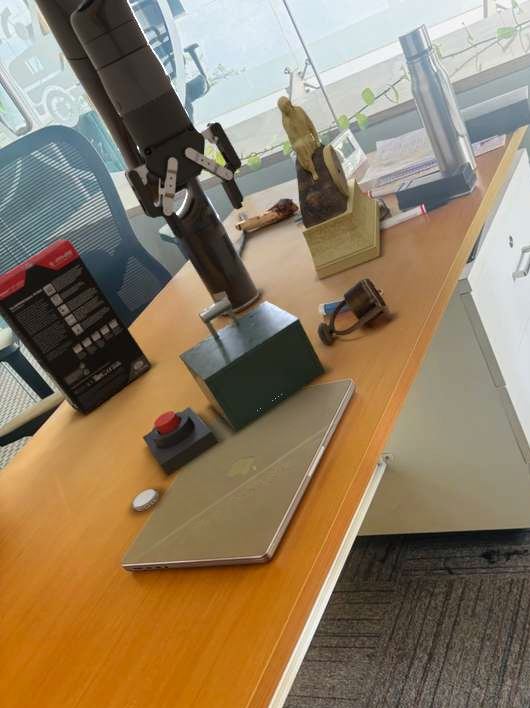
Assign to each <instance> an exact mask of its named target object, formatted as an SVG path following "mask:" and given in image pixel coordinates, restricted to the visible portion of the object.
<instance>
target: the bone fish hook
mask: <svg viewBox="0 0 530 708" xmlns="http://www.w3.org/2000/svg"><path fill="white" fill-rule="evenodd" d="M298 211H300V206H299V205H298V204H297V203H295V202H294V201H293V198H280V199H279V200H278V201H277V202H276V203H274V204H273V205H272V206H271V207H270V208H268V209H267V210H266V211H265V212H263V213H259V214H257V215H255V216H253V217H249V218H246V219H245V221H242V220H241V221H238V222H237V223H236V224H234V228H235V230H237V231H243V230H246V231H247V232H248V231H252V230H255V229H259V228H263V227H266V226H268V225H270V224H273V223H277V222H279V221H281V220H283V219H286V218H289V217H291V216H292V215H294V214H295V213H297V212H298Z"/></svg>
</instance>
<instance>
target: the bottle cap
mask: <svg viewBox="0 0 530 708" xmlns="http://www.w3.org/2000/svg"><path fill="white" fill-rule="evenodd" d="M159 496H160V494H159V492H158V490H156V489H155V488H148V489H144V491H142V492H140V493H139V494H138V495H136V496H135V497H134V499H133V500H132V503H131V507H132V508H133V509H134V511H136V512H141V511H142V512H143V511H145V510H147V509H149V508H150V507H152V506H153V505H154V504H155V503H156V502H157V501H158V499H159Z"/></svg>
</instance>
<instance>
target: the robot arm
mask: <svg viewBox="0 0 530 708" xmlns="http://www.w3.org/2000/svg"><path fill="white" fill-rule="evenodd" d="M34 3H35V4H36V6H37V8H38V10H39V11H40V13H41V15H42V17H43V18H44V21H45V23H46V24H47V26H48V28H49V30H50V32H51V33H52V36H53V37H54V40H55V41H56V43H57V44H58V47H59V48H60V50H61V52H62V54H63V56H64V57H65V59H66V61H67V63H68V64H69V66H70V68H71V70H72V71H73V73H74V75H75V76H76V78H77V80H78V82H79V84H80V85H81V86H82V89H83V90H84V91H85V93H86V94H87V96H88V98H89V100H90V101H91V103H92V105H93V107H94V108H95V109H96V111H97V112H98V115H99V116H100V118H101V119H102V121H103V123H104V125H105V126H106V129H107V130H108V132H109V134H110V136H111V138H112V140H113V142H114V144H115V146H116V148H117V150H118V151H119V153H120V155H121V157H122V160H123V161H124V163H125V165H126V168H127V169H126V170H125V171H124V177H125V179H126V180H127V183H128V185H129V186H130V188H131V190H132V192H133V194H134V196H135V197H136V200H137V202H138V204H139V205H140V207H141V210H142V211H143V213H144V215H145V216H146V217H149V218H152V219H156V218H160V217H162V218H164V221H165V222H166V223H167V226H168V227H169V229H170V230H171V232H172V234H173V236H174V237H176V239H177V241H178V242H179V244H180V245H181V248H182V249H183V251H184V253H185V254H186V256H187V258H188V260H189V262H190V263H191V265H192V267H193V268H194V270H195V272H196V274H197V276H198V277H199V279H200V280H201V282H202V284H203V285H204V287H205V289H206V291H207V293H208V294H209V296H210V298H211V300H212V301H213V303H214V304H215V303H217V302H219V301H220V300H222V299H223V298H225V297H226V298H227V299H228V300H229V302H230V303H231V305H232V310H233V312H234V314H237V313H240V312H242V311H243V310H245V309H247V308H249V307H250V306H251V305H252V304H254V303H255V302H256V301H257V300H258V299H259V297H260V295H261V292H260V291H259V289H258V288H257V286H256V284H255V282H254V280H253V278H252V276H251V274H250V272H249V271H248V269H247V267H246V265H245V263H244V261H243V260H242V258H241V254H242V251H243V248H244V246H245V241H246V238H247V232H248V231H246V230H242V237H241V240H240V243H239V246H238V249H237V247H236V246H235V244H234V242H233V240H232V239H231V237H230V235H229V233H228V230H227V229H226V228H225V226H224V223H223V221H222V220H221V218H220V215H219V214H218V212H217V211H216V209H215V206H214V205H213V203H212V202H211V200H210V198H209V195H208V194H207V191H206V190H205V188H204V186H203V184H202V182H201V180H200V178H199V176H200V175H202V172H203V171H205V172H207V173H209V174H211V175H212V176H215V177H217V178H219V179H220V184H221V186H222V188H223V190H224V192H225V194H226V196H227V198H228V200H229V202H230V204H231V206H232V207H233V208H234V209H235V210H240V209H242V208H243V207H244V206H243V204H242V203H243V202H244V196H243V194H242V192H241V190H240V188H239V186H238V184H237V182H236V180H235V173H236V172H237V171H238V169H240V168H241V167H242V161H241V158H240V157H239V155H238V153H237V152H236V150H235V147H234V146H233V144H232V143H231V140H230V139H229V137H228V135H227V133H226V132H225V129H224V128H223V126H222V125H221V123H220V122H217V121H216V122H215V121H213V122H208V123H207V124H206V127H205V128H203V129H202V130H200V131H199V130H198V129H197V128H196V127H195V125H194V123H193V121H192V119H191V117H190V116H189V114H188V112H187V110H186V108H185V106H184V103H183V102H182V100H181V98H180V96H179V94H178V92H177V90H176V88H175V86H174V84H173V82H172V78H171V76H170V74H169V73H168V72H167V70H166V69H165V67H164V65H163V63H162V61H161V60H160V58H159V56H158V54H156V52H155V50H154V49H153V47H152V45H151V44H150V43H149V40H148V38H147V36H146V34H145V31H143V28H142V27H141V24H140V23H139V20H138V19H137V17H136V15H135V13H134V10H133V8H132V6H131V4H130V2H129V0H34ZM206 140H207V141H208V142H209V143H210V144H212V145H215V146H216V148H217V149H218V151H219V154H220V155H221V156H222V158H223V160H224V162H225V164H224V165H221V164H219V163H218V162H216V161H215V160H213V159H211V158H209V157H207V156H205V149H206V148H205V147H206ZM184 190H185V191H186V194H185V199H184V201H183V203H182V204H181V207H180V208H179V210H178V211H177V212H175V211H174V199H175V195H177V194H180V192H182V191H184ZM155 204H158V205H155ZM241 213H242V215H243V217H244V220H246V218H245V215H244V214H243V212H242V211H241ZM238 215H239V217H240V219H241V222H242V221H244V220H242V217H241V215H240V213H239V211H238ZM220 316H230V315H229V313H228V311H226V312H224V313H223V314H221V315H220Z"/></svg>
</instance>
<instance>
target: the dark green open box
mask: <svg viewBox="0 0 530 708" xmlns="http://www.w3.org/2000/svg"><path fill="white" fill-rule="evenodd" d="M183 364H184V365H185V367H186V369H187V370H188V372H189V373H190V374H191V377H192V378H193V380H194V381H195V382H196V384H197V385H198V388H199V389H200V390H201V392H202V393H203V395H204V396H205V398H206V399H207V401H208V402H209V404H210V405H211V406H212V408H213V409H214V410H215V411H216V412H217V413H218V414H219V415H220V416H221V417H222V418H223V419H224V420H225V421H226V422H227V424H229V425H230V427H231V428H232V429H233V430H234V431H235V432H238V431H240V430H241V429H243V428H244V427H246V426H247V425H249V424H250V423H252V422H253V421H254V420H256V419H258V418H259V417H260V416H263V415H264V414H265V413H266V412H268V411H270V410H272V409H273V408H275V406H277V405H279V404H280V403H282V402H283V401H284V400H286V399H287V398H289V397H291V396H293V395H294V394H295V393H296V392H298V391H300V390H301V389H302V388H304V387H306V386H307V385H309V384H311V383H312V382H313V381H315V380H316V379H318V378H319V377H321V376H322V375H324V374H325V373H326V369H325V368H324V366H323V364H322V362H321V360H320V358H319V356H318V354H317V352H316V350H315V348H314V346H313V344H312V342H311V340H310V337H309V336H308V334H307V332H306V331H305V328H304V326H303V324H302V322H301V323H300V324H299V325H297V326H296V327H294V328H293V329H291V330H290V331H288V332H286V333H285V334H283V335H282V336H280V337H279V338H277V339H276V340H274V341H273V342H271V343H269V344H268V345H266V346H265V347H263V348H262V349H260V350H259V351H257V352H256V353H254V354H252V355H251V356H249V357H248V358H246V359H245V360H243V361H242V362H240V363H239V364H237V365H235V366H234V367H232V368H231V369H229V370H228V371H226V372H225V373H223V374H222V375H220V376H218V377H217V378H215V379H214V380H212V381H211V382H209V383H208V384H205V383H204V382H203V381H202V380H201V379H200V378H199V377H198V376H197V375H196V374H195V373H194V372H193V371H192V370H191V369H190V368H189V367H188V366H187V365H186V364H185V363H184V362H183ZM281 394H282V395H281ZM278 396H279V397H278ZM275 398H276V399H275ZM272 400H273V401H272ZM260 408H261V409H260ZM257 410H258V411H257Z"/></svg>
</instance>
